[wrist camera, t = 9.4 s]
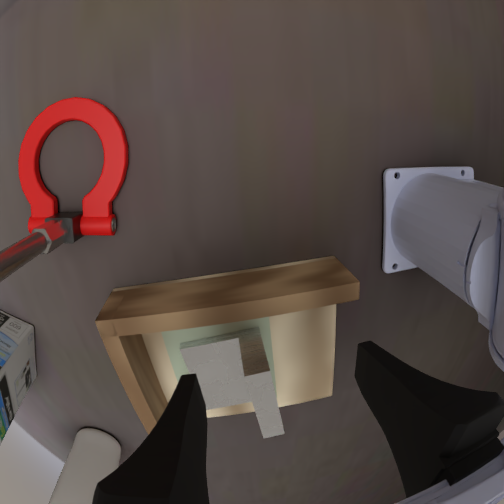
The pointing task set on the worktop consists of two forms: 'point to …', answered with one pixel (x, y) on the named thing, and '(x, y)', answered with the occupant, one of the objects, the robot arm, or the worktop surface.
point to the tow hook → (45, 204)
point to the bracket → (235, 375)
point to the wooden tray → (207, 315)
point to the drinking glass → (86, 467)
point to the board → (275, 344)
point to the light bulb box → (14, 366)
